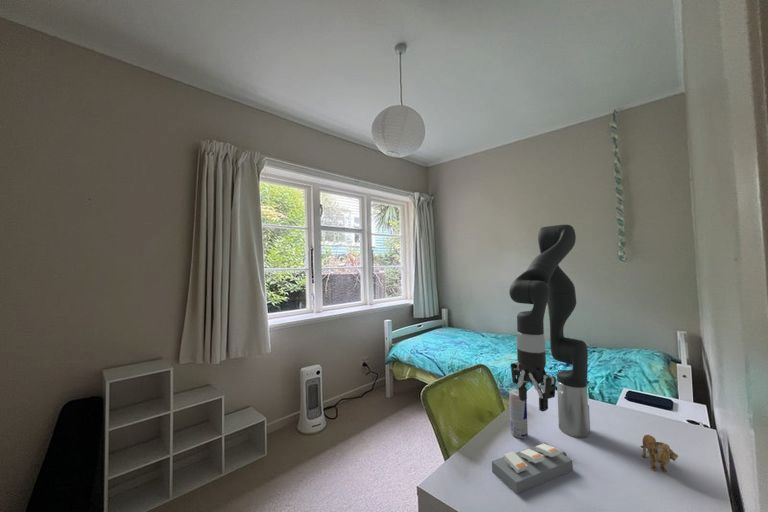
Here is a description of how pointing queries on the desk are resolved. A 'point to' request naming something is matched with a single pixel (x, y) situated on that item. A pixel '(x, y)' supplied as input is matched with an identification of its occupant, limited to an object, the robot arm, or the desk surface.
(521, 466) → the block
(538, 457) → the rocker middle
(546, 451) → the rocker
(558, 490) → the desk surface
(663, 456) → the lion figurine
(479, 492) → the desk surface
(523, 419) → the beverage can
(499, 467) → the rocker switch panel
